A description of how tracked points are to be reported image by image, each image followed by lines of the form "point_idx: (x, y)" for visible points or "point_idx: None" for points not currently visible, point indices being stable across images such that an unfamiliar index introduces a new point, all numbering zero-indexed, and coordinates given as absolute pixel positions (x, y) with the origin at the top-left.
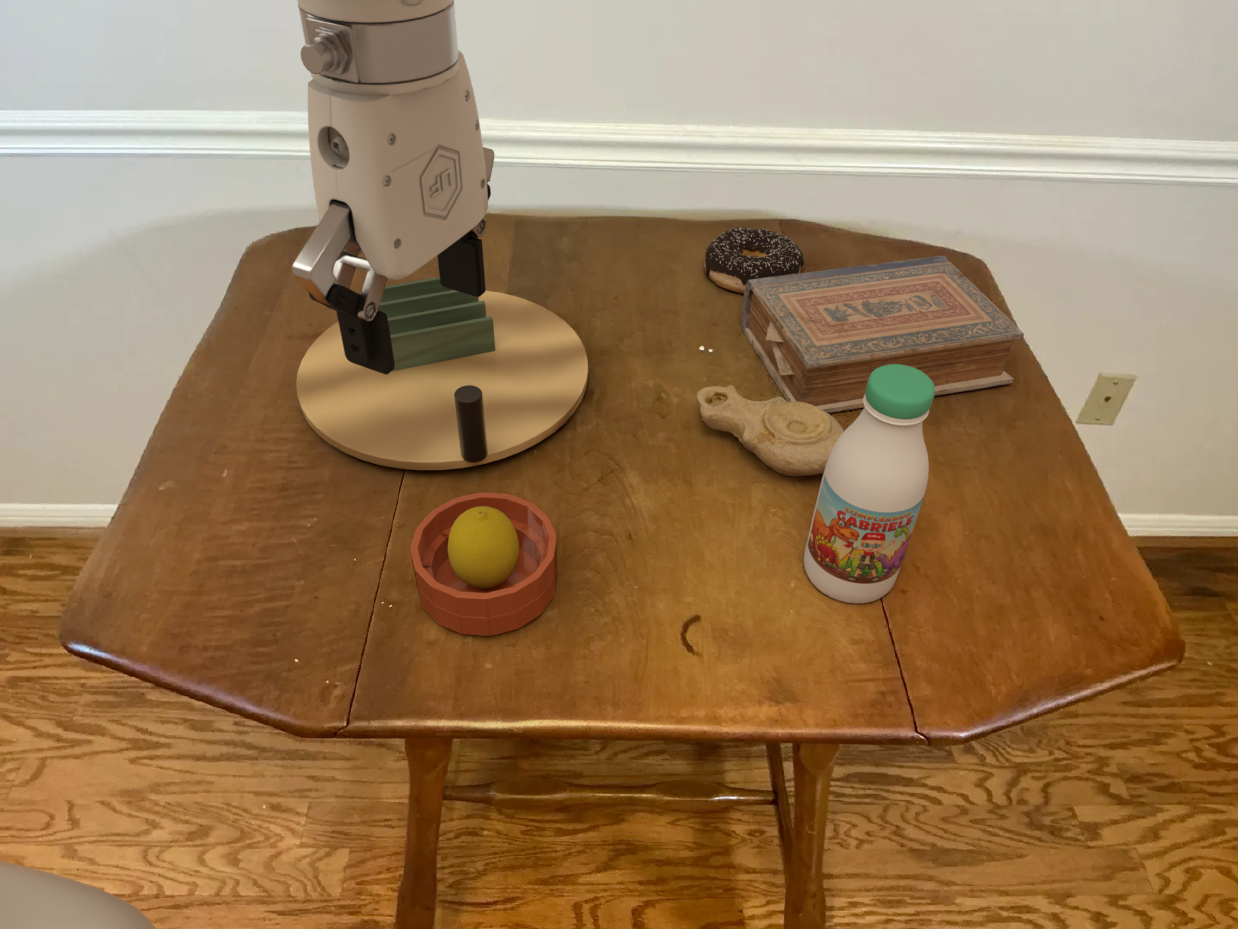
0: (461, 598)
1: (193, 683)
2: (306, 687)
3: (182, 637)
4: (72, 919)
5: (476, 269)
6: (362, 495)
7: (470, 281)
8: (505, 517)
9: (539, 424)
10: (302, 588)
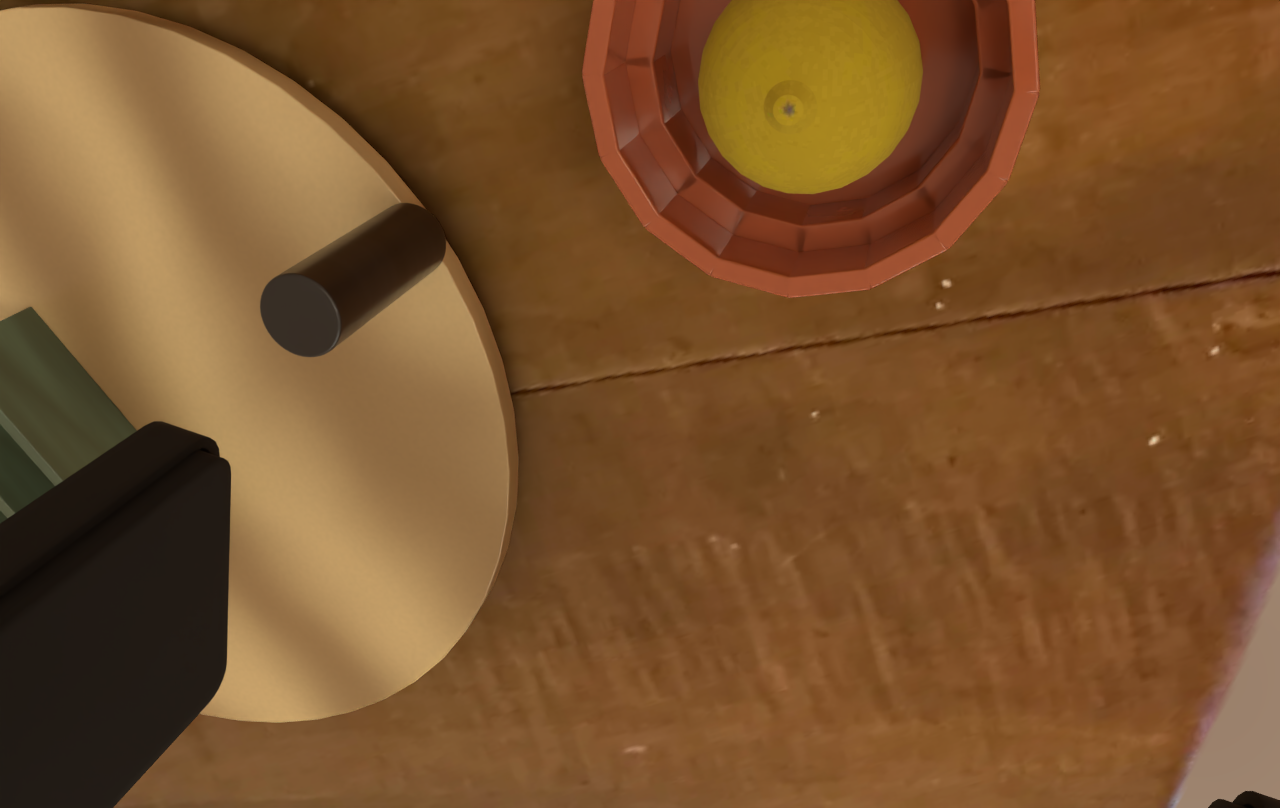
0: (1038, 76)
1: (1245, 623)
2: (1237, 392)
3: (1115, 683)
4: None
5: (69, 568)
6: (609, 463)
7: (159, 552)
8: (745, 29)
9: (234, 93)
10: (930, 498)
